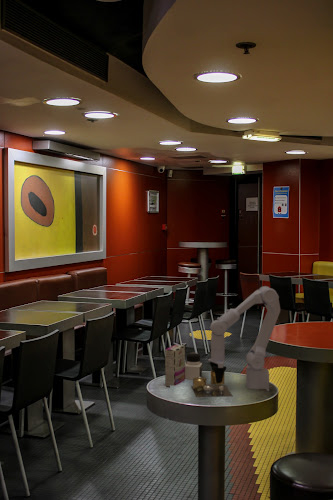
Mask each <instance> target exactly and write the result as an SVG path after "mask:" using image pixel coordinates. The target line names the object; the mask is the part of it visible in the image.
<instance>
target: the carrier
mask: <svg viewBox="0 0 333 500" xmlns="http://www.w3.org/2000/svg"><path fill="white" fill-rule="evenodd" d="M190 388H191V390H192V392H193V393H194V395H195V397H196V398H206V397H207V398H216V397H217V398H218V397H219V398H221V397H228V398H229V397H234V396H233V394H232V392H231V391H230V389H228V387H227V386H226V385H214V384H210V383H207V378H206V377H204V376H202V377H195V378H193V380H192V385H191V386H190Z"/></svg>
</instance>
